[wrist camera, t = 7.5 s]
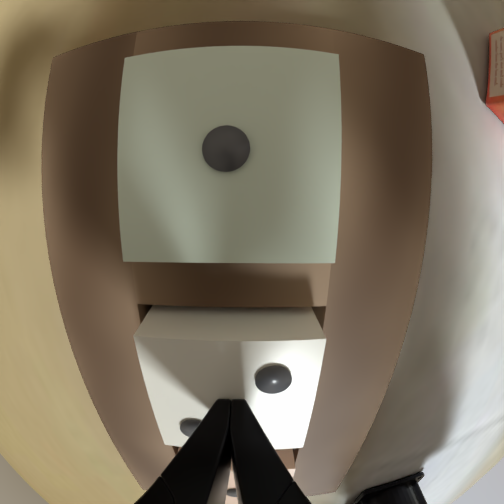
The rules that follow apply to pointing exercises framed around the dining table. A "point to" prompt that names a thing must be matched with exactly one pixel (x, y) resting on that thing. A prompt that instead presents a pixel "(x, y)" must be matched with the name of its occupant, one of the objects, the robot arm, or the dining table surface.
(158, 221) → the tile one
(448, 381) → the dining table surface
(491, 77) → the cracker box
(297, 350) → the tile two
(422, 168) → the frame board
